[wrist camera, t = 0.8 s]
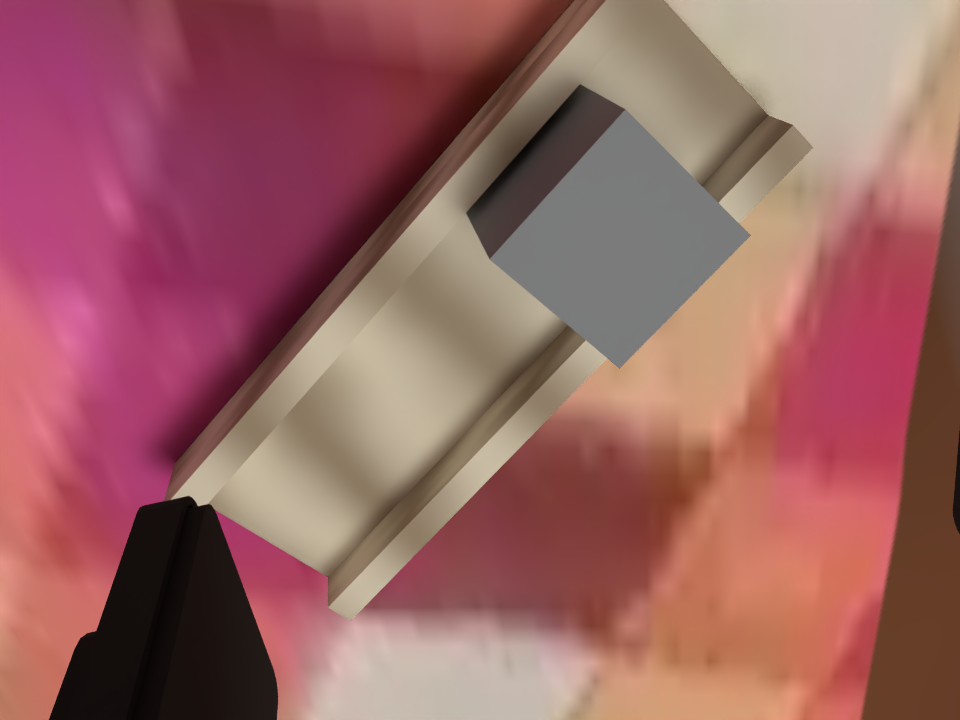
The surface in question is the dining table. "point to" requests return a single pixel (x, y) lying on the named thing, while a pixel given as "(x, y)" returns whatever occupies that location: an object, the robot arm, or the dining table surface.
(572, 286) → the slate block
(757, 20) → the dining table surface
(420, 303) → the birch chute
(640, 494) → the dining table surface
